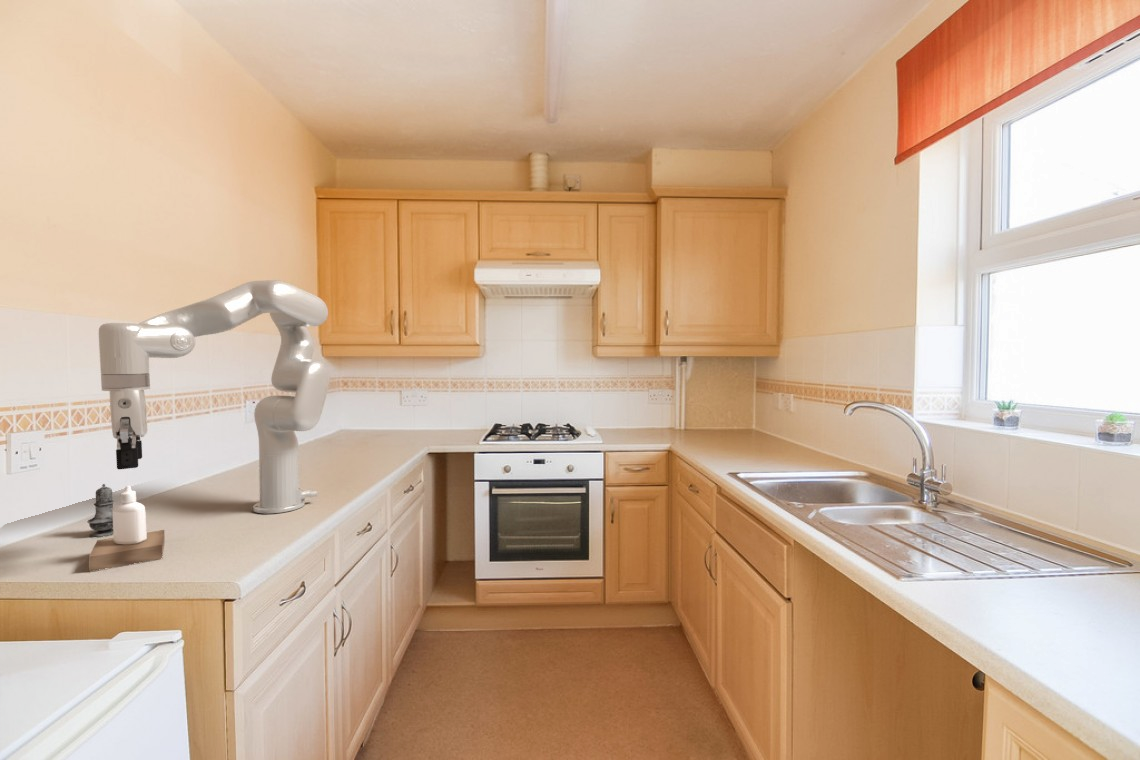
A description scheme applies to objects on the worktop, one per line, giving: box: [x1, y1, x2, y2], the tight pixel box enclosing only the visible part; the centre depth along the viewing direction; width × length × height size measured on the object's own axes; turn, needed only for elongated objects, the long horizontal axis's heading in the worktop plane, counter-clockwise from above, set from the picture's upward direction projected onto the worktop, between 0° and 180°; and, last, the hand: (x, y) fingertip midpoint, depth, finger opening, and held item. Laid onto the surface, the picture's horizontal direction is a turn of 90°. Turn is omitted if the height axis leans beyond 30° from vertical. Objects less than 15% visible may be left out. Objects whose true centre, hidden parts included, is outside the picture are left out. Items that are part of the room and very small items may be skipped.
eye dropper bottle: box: [113, 485, 148, 545], centre depth 103 cm, size 4×6×12 cm
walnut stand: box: [88, 529, 166, 573], centre depth 103 cm, size 11×11×3 cm
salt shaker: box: [87, 483, 115, 538], centre depth 116 cm, size 6×6×12 cm
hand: (130, 463), depth 103 cm, fingers open, 9 cm apart
